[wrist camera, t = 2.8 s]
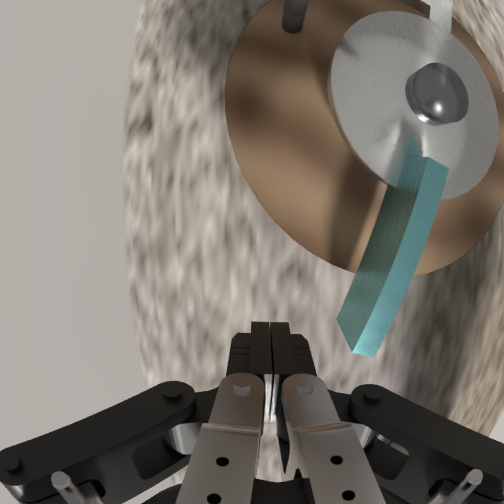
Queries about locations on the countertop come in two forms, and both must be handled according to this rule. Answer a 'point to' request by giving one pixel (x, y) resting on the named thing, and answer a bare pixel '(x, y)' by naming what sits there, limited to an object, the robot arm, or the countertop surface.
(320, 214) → the base plate
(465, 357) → the countertop surface
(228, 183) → the countertop surface
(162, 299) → the countertop surface
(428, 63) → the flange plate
